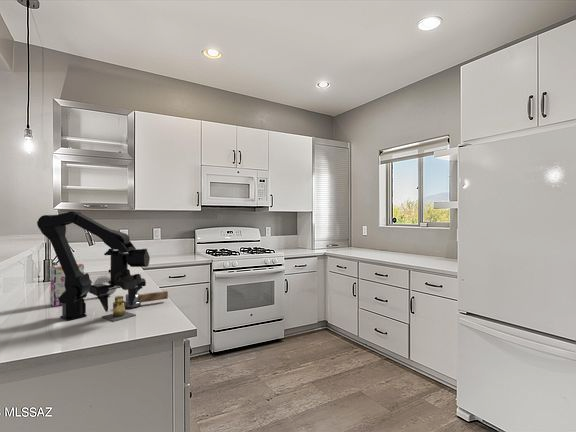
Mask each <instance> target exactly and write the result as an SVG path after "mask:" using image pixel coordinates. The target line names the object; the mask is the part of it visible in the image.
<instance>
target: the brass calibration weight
mask: <svg viewBox="0 0 576 432" xmlns="http://www.w3.org/2000/svg"><path fill="white" fill-rule="evenodd" d="M125 301H126V300H124V296H123V295H117V296H115V297H114V301H113V302H112V314H113V317H122V316H124V315H125V311H126V308H125Z"/></svg>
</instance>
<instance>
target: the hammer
mask: <svg viewBox="0 0 576 432" xmlns="http://www.w3.org/2000/svg"><path fill="white" fill-rule="evenodd" d="M168 294H169V293H168V291H167V290H162V291H155V292H146V293H142V294H139V292H137V294H136V296H135V299H134V301H133V304H132V306H130V305H129V298H128V293H127V294H125V300H124V301H125V309H128V308H129V309H132V308H137V307H140V306H141V305H142V303H146V302H154V301H162V300H166V299H167V300H168V298H169V295H168Z"/></svg>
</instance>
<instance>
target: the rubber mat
mask: <svg viewBox="0 0 576 432" xmlns="http://www.w3.org/2000/svg"><path fill="white" fill-rule="evenodd" d="M136 316H137V314H135V313H132V312H129V311H126V310H125V315H124V316H122V317H113V313H110V314H105V315H103V316H101V318H102V319H105V320H109V321H111V322H117V321H122V320H124V319H128V318H131V317H132V318H133V317H136Z"/></svg>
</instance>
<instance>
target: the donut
mask: <svg viewBox="0 0 576 432" xmlns="http://www.w3.org/2000/svg"><path fill="white" fill-rule="evenodd" d="M109 281H110V274H104V275H101V276H99V277H98V278H96V279H95V281H94V282H93V285H95V284H105V283H108V285H110V284H109ZM116 291H117V289H112V290H109V291H108V292H107V293H108V294H109V296H111V295H113V294H115V292H116ZM109 296H108V297H109Z"/></svg>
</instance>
